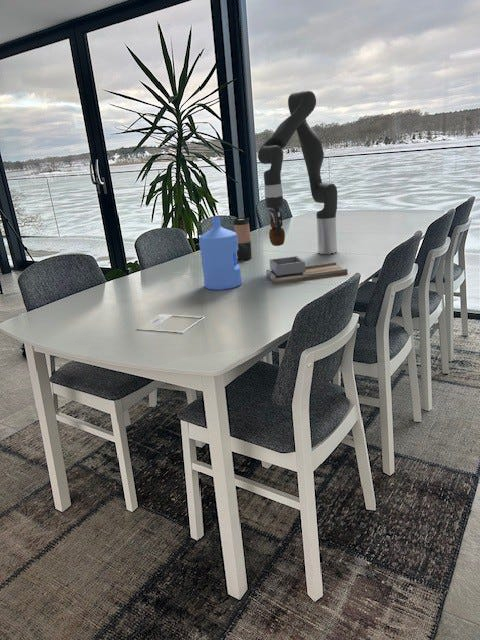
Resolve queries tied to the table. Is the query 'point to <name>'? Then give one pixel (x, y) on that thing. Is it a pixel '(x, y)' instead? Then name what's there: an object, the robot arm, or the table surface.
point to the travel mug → (243, 238)
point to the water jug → (220, 258)
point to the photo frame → (165, 316)
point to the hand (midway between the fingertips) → (277, 234)
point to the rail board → (309, 273)
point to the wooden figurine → (273, 237)
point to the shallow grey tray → (287, 266)
